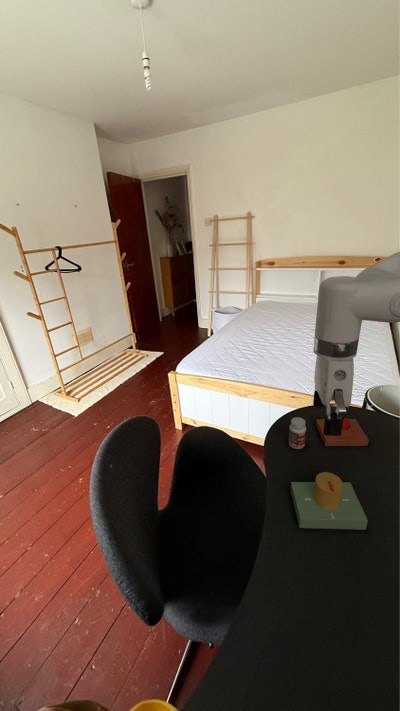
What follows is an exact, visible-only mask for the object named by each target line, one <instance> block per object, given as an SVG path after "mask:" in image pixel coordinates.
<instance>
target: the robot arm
mask: <svg viewBox="0 0 400 711" xmlns="http://www.w3.org/2000/svg"><path fill="white" fill-rule="evenodd" d="M317 294H318V296H317V306H316V319H315V326H314V338H313V339H314V340H313V348H312V350H313V353H314V354H315V356H316V359H315V367H314V375H313V376H314V378H313V379H314V392H313V400H312V406H313V407H315V408H326V410H325V411H326V416H324V419H325V421H324V429H323V433H324V435H330V436H340V435H341V431H342V425H343V421H344V418H346V416H345V415H346V414H347V408H350V406H351V404H352V397H353V387H354V386H353V385H354V372H355V370H354V369H355V364H354V362H355V361H354V358H356V356H357V353H358V347H359V341H360V340H359V339H360V335H361V330H362V329H361V328H362V323H363V321H367V322H378V323H391V324H392V323H394V324H395V323H400V251H397V252H394V253H393V254H391V255H389V256H386V257H385V258H383V259H381V260H379V261H377V262H374V263H373V264H371V265H369V266H368V267H366V268H364V269H363V270H361V271H360V272H359V273H358V274H356V276H352V275H351V276H349V275H336V276H330V277H327V278H324V279H323V280H322V281H321V282H320V284H319V287H318V293H317ZM332 401H334V403H331V402H332ZM332 408H335V412H332Z"/></svg>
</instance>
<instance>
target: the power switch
mask: <svg viewBox="0 0 400 711" xmlns="http://www.w3.org/2000/svg"><path fill="white" fill-rule="evenodd" d="M347 419H348V420H349V421H350V424H349V428H348V429H342V431H341V435H340V436H330V435H324V433H323V429H324V421H325V418H320V419H319V418H318V419H316V420H315V426H316V429H317V430H318V433H319V436H320V437H321V440H322V442H323V444H324V446H325V447H368V446H369V443H370V442H369V438H368V437H367V434H366V433H365V431H364V430H363V428H362V427H361V425H360V423H359V422H358V421H357V419H356V418H347Z"/></svg>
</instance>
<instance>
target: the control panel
mask: <svg viewBox="0 0 400 711" xmlns="http://www.w3.org/2000/svg"><path fill="white" fill-rule="evenodd" d="M342 483H343V489H342V495H341V501H340V505H339V507H338V508H337V509H335V510H326V509H323V508H321V507H320V506H319V505H317V503H316V502H315V500H314V489H315V481H291V482H290V493H291V497H292V502H293V508H294V511H295V515H296V520H297V523H298V528H299V529H321V530H322V529H326V530H364V531H365V530H366V529H367V526H368V522H369V520H368V518H367V515H366V514H365V511H364V509H363V507H362V505H361V502H360V500H359V498H358V496H357V494H356V492H355V489H354V487H353V485H352V483H351V482H347V481H346V482H343V481H342Z"/></svg>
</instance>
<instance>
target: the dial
mask: <svg viewBox="0 0 400 711" xmlns="http://www.w3.org/2000/svg"><path fill="white" fill-rule="evenodd" d="M314 482H315V489H314V500H315V502H316V503H317V505H319V506H320V507H321V508H323V509H326V510H335V509H337V508H338V507H339V505H340V501H341V495H342V489H343V483H342V482H343V481H342V479H341V478H340V477H339V476H338V475H336V474H334V473H332V472H328V471H323V472H319V473H318V474H316V476H315V481H314Z"/></svg>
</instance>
